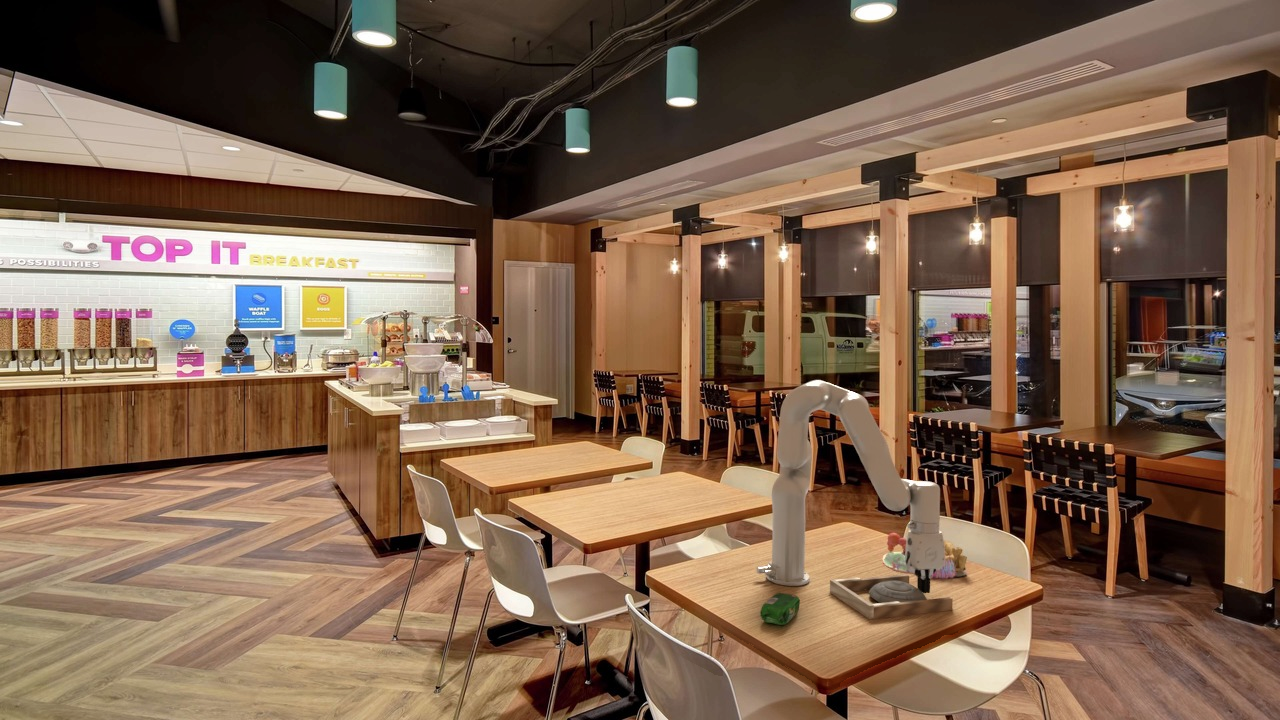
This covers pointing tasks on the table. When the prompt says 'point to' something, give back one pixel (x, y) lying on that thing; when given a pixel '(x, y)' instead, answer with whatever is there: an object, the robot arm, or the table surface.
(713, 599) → the table surface
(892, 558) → the candy landscape model
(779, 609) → the snack package
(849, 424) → the robot arm
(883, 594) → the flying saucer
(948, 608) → the bay
